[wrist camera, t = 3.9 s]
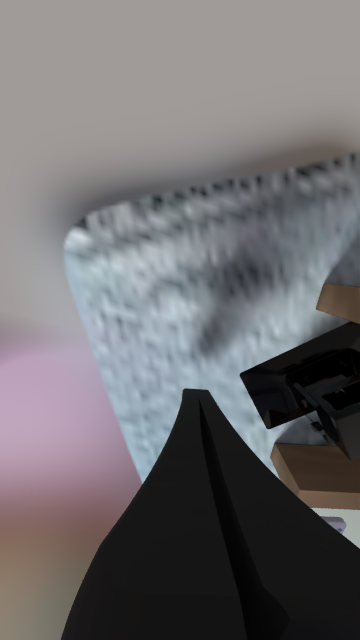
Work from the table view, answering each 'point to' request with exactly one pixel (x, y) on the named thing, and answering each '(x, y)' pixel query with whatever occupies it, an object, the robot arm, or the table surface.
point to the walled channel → (323, 461)
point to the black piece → (314, 387)
